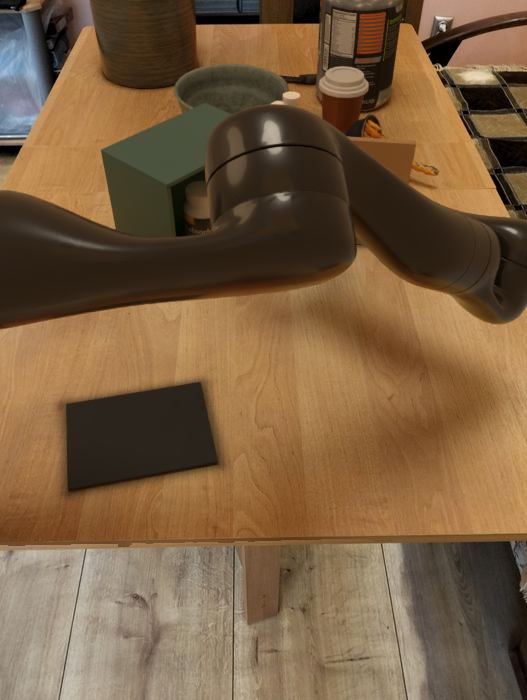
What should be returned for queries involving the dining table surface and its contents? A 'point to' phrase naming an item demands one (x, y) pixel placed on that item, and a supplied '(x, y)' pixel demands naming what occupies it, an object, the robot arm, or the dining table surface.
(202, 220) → the pill bottle
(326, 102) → the coffee cup
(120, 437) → the mat
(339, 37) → the supplement tub
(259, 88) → the bowl
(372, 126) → the fried food
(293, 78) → the knife
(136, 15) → the planter
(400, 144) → the cupboard door
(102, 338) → the dining table surface
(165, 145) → the cupboard
